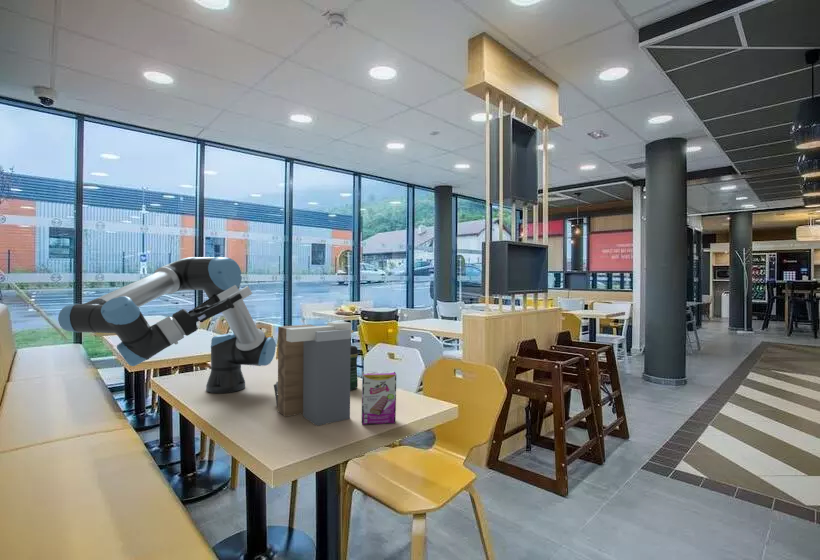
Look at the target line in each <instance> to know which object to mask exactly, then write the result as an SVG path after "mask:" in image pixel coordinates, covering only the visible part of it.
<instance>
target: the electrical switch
mask: <svg viewBox="0 0 820 560" xmlns="http://www.w3.org/2000/svg"><path fill="white" fill-rule="evenodd" d="M273 388H274V395H275V401H276V406H278V381H276V383H274V384H273Z"/></svg>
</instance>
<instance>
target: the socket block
mask: <svg viewBox="0 0 820 560" xmlns="http://www.w3.org/2000/svg"><path fill="white" fill-rule="evenodd" d="M351 330H352V329H351ZM351 330H349V329H346V330H333V331H320V332H316V336H315V340H311V341H304V353H303V413H302V417H303V416H304V417H305V418H304V417H303V418H304V419H306V420H307V419H308V421H309V422H310V421H311V423H312V424H313V423H314V424H313V425H315V426H316V425H318V426H321V425H322V424H323V425H326V423H328V424H331V422H332V423H336V421H337V422H340V421H341V422H342V421H346V420H349V419H351V390H350V347H351V346H352V345H351V338H352V333H351ZM345 419H346V420H345Z"/></svg>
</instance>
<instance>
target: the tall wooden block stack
mask: <svg viewBox="0 0 820 560" xmlns="http://www.w3.org/2000/svg"><path fill="white" fill-rule="evenodd" d="M313 326H315V325H314V324H298V325H297V324H296V325H282V326H281V325H280V326H277V382H278V394H277V395H278V405H277V412H278V411H279V412H280V413H279V412H278V413H279V414H281V415H282V414H283V415H284V417H285V416H286V417H289V416H288V415H291V416H295V415H294V414H296V415H300V414H299V413H301V414H303V353H304V341H300V342H289V341H286V328H299V327H313ZM283 415H282V416H283Z"/></svg>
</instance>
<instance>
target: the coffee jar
mask: <svg viewBox="0 0 820 560" xmlns="http://www.w3.org/2000/svg"><path fill="white" fill-rule="evenodd" d="M358 356H359V350H358V347H357V346H356V345H351V347H350V391H352V390H356V389H357V388H358V386H359V385H358V384H359V383H358V381H359V379H358Z"/></svg>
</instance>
